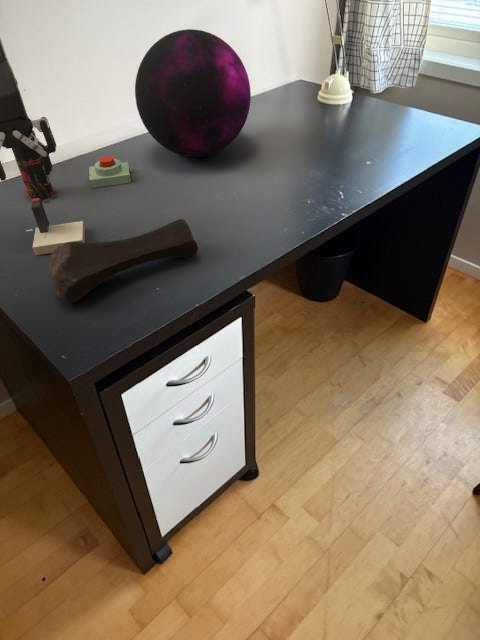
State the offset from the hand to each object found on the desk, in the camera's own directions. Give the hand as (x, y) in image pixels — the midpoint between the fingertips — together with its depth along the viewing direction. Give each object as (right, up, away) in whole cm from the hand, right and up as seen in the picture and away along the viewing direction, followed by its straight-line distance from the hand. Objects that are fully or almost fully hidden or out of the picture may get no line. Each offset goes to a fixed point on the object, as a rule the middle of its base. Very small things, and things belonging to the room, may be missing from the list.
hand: (26, 176), depth 94 cm
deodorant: (-7, +3, +24) cm, 26 cm away
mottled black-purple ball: (+31, +19, +40) cm, 54 cm away
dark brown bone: (+20, -19, -2) cm, 28 cm away
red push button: (+9, +11, +27) cm, 30 cm away
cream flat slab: (+3, -11, +8) cm, 14 cm away
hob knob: (0, -9, +8) cm, 12 cm away
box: (+9, +8, +30) cm, 32 cm away
